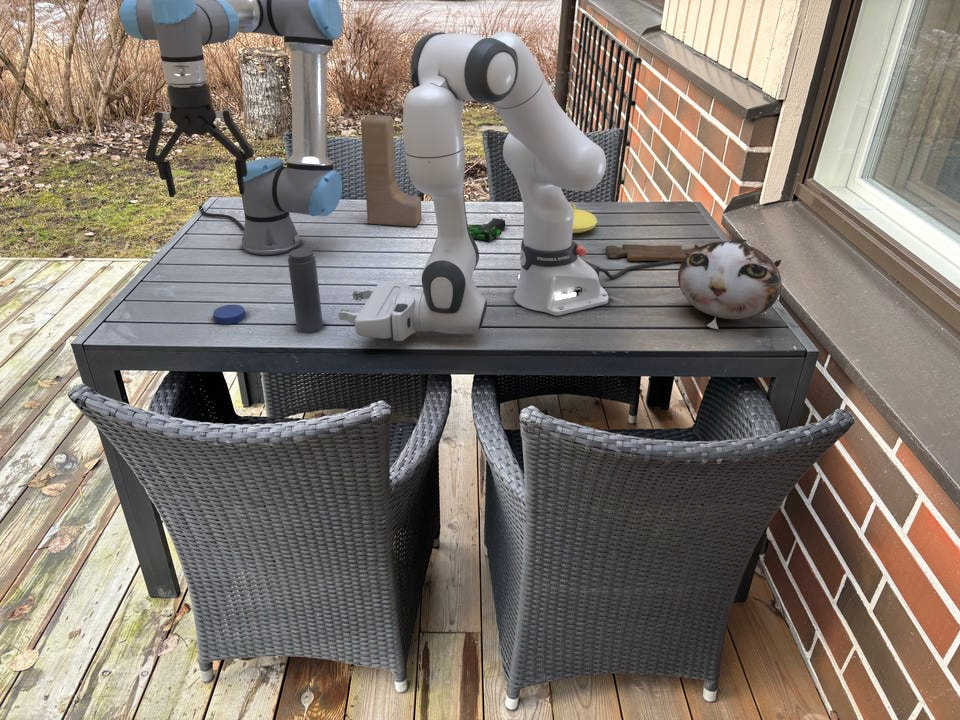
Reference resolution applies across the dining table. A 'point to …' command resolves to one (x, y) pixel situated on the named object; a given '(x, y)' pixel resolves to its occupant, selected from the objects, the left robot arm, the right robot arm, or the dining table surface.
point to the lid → (229, 314)
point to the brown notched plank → (648, 252)
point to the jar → (305, 290)
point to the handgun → (487, 230)
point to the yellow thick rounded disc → (583, 220)
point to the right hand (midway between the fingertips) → (346, 304)
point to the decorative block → (385, 176)
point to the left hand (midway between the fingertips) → (207, 193)
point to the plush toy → (729, 280)
